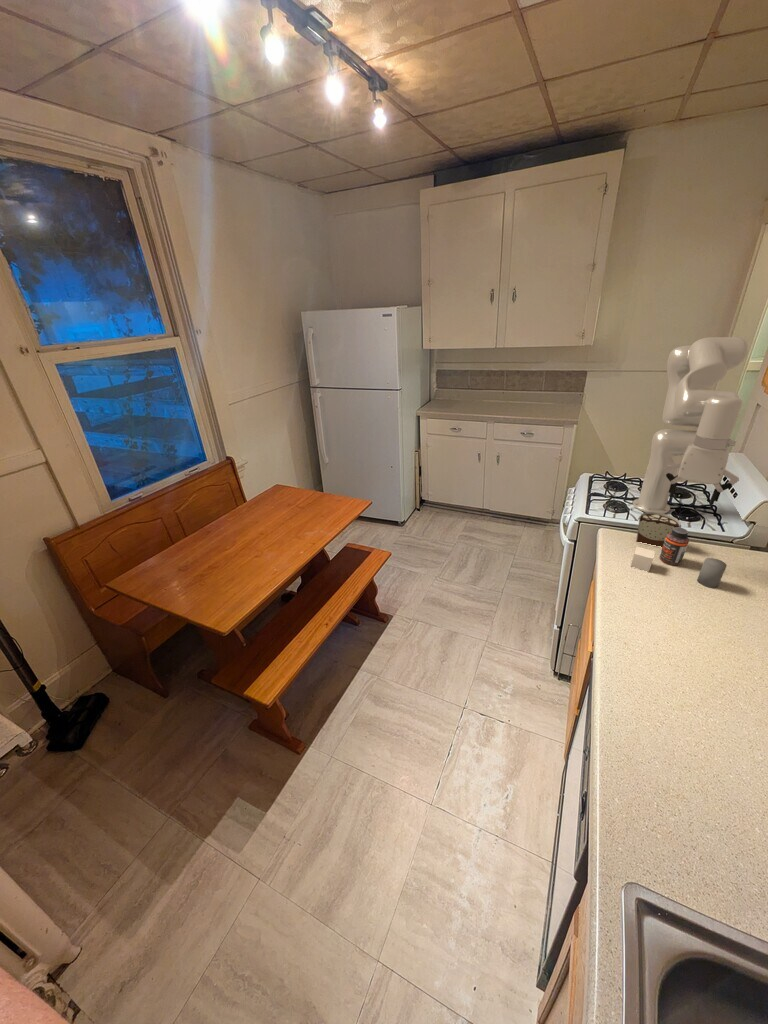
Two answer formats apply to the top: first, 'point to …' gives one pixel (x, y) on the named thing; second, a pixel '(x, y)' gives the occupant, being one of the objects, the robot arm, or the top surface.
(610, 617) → the top surface
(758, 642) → the top surface
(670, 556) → the supplement bottle
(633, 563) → the off-white block
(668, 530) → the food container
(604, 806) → the top surface
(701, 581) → the gray cylinder
